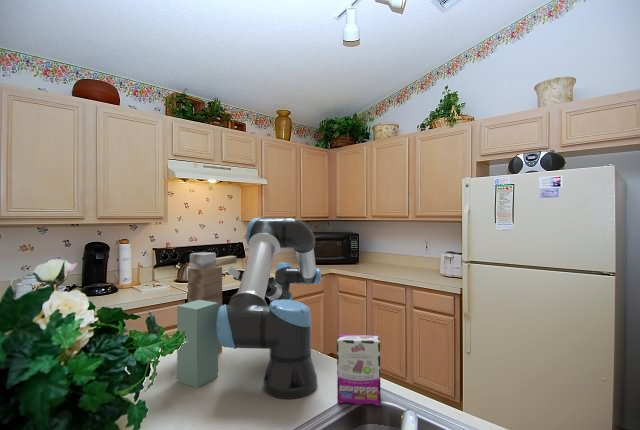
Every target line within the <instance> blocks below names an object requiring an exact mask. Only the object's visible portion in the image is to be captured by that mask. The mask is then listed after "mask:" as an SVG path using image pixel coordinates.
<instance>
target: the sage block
mask: <svg viewBox="0 0 640 430" xmlns="http://www.w3.org/2000/svg"><path fill="white" fill-rule="evenodd" d="M176 308H177V310H176V314H177V315H176V317H177V318H176V319H177V320H176V323H177V324H176V326H177V327H176V328H177V330H176V331H178V330H180V331H185V336H186V340H187V341H188V342H187V343H184V344H182V345H181V347H180V349H179V350H177V349H176V353H177V355H176V356H177V357H176V363H177V364H176V365H177V366H176V367H177V370H176V372H177V373H176V375H177V377H176V378H177V379H176V382H178V383H181V384H183V385H186V386H190V387H192V388H194V389H195V388H196V389H198V388H200V387H201V386H203V385H205V384H207V383H208V382H210V381H212V380H214V379H216V378H217V377H219V354H218V337H217V327H216V322H217V313H218V303H216V302H210V301H204V300H196V301H192V302H189V303H188V302H186V303H182V304H178V305H176Z"/></svg>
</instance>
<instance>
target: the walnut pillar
mask: <svg viewBox="0 0 640 430" xmlns="http://www.w3.org/2000/svg"><path fill="white" fill-rule="evenodd" d="M196 300H204V301H210V302H216V303H218V310H219V308H220V306H222V305H223V266H216V268H210V269H205V270H199V269H190V267H188V268H187V303H189V302H192V301H196ZM222 352H223V346H222V345H221V344H220V343H219V340H218V355H219V354H221V353H222Z"/></svg>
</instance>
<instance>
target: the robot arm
mask: <svg viewBox="0 0 640 430" xmlns="http://www.w3.org/2000/svg"><path fill="white" fill-rule="evenodd" d="M245 240H246V244H247V246H248V247H249V249H250V252H249V255H248V258H247V261H246V264H245V267H244V271H243V273H241V272H240V271H239V270H238V269H236V268H234V267H232V266H229V267H228V269H227V274H228V275H230V276H232V277H233V278H232V279H233V280H235V281H238V282H240V283H239V287H238V290H237V292H236V293H235V294H233V295H232V296H231V297H230V299H229V302H228V304H222V306H220V308H219V310H218V313H217V322H216V327H217V337H218V340H219V343H220V344H221V345H222V348H223V347H224V348H231V349H262V350H264V349H266V350H267V349H268V350H269V360H268V364H267V367H266V370H265V373H264V377H263V389H264V391H265V392H266V393H267V394H268V395H270V396H272V397H275V398H279V399H286V400H287V399H289V400H290V399H296V398H297V399H299V398H302V397H305V396H307V395H310V394H311V393H313V392H314V391H315V390H316V388H317V386H318V375H317V372H316V369H315V366H314V362H313V358H312V345H311V344H312V334H311V333H312V332H311V331H312V327H311V326H312V317H311V308H309V306H308V305H306V304H305V303H303V302H301V301H297V300H293V297H294V296H293V294H292V293H291V291H290V287H291V285H292V284H293V285H302V284H303V285H319V284H321V281H322V269H321V268H318V267H317V266H316V265H317V264H316V257H315V251H314V248H315V246H316V237H315V235H314V233H313V230H312V229H311V228H310V227H309V226H308V225H307V224H306V223H305V222H304V221H302V220H300V219H298V218H294V217H265V216H264V217H263V216H261V217H254V218H252V219H251V220H250V221H249V223H248V225H247V228H246V234H245ZM281 248H283V249H288V248H291V249H293V250H294V251H295V254H296V255H295V256H296V259H297V264H298V267H292V265H291V264H290V263H288V262H279V263H277V264H276V266H275V272H274V277H273V276H271V270H272V268H273V267H272V266H273V262H274V257H275V256H276V255H277V254H279V252H280V250H281ZM265 297H266V298H268V299H269V301H270V303H269V305H268V304H267V302H266V300H265Z"/></svg>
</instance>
